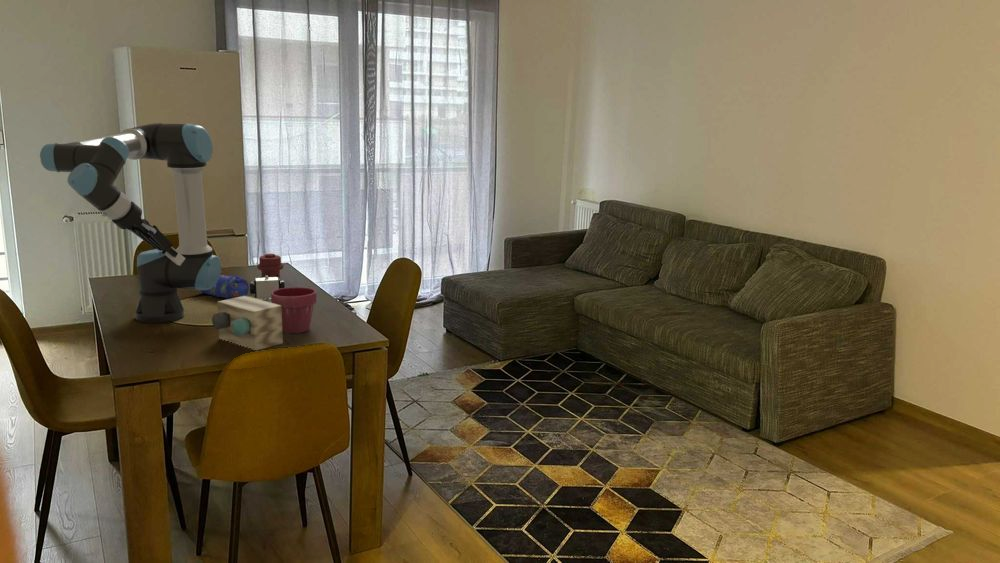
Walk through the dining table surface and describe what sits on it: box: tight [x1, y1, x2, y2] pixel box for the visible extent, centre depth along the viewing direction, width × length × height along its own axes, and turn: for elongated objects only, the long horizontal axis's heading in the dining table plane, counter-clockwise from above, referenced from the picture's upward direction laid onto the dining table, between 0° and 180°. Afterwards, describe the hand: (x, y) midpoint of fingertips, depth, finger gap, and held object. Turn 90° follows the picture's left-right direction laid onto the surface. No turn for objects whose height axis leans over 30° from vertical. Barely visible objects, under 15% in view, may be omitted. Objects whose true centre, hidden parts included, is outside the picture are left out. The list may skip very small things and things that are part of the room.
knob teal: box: [232, 318, 250, 336], centre depth 236 cm, size 12×5×5 cm, turn 144°
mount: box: [216, 295, 284, 351], centre depth 240 cm, size 10×18×12 cm, turn 54°
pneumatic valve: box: [249, 276, 286, 303], centre depth 278 cm, size 6×12×12 cm, turn 110°
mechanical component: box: [257, 253, 284, 279], centre depth 313 cm, size 12×10×10 cm
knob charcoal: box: [211, 312, 230, 330], centre depth 241 cm, size 12×5×5 cm, turn 144°
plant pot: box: [271, 286, 317, 334], centre depth 254 cm, size 14×14×13 cm
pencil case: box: [198, 273, 250, 300], centre depth 293 cm, size 22×9×10 cm, turn 57°
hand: (181, 261), depth 229 cm, fingers closed
